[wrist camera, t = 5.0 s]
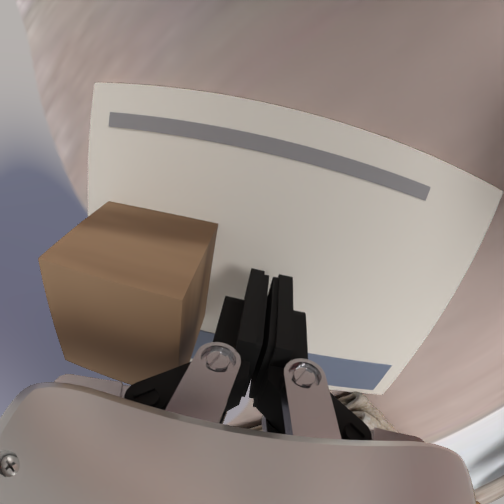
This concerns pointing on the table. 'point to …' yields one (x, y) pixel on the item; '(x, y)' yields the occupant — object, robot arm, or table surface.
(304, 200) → the letter sheet
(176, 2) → the table surface
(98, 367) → the walnut block
